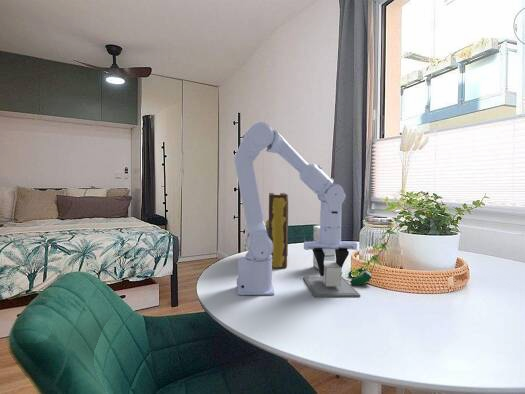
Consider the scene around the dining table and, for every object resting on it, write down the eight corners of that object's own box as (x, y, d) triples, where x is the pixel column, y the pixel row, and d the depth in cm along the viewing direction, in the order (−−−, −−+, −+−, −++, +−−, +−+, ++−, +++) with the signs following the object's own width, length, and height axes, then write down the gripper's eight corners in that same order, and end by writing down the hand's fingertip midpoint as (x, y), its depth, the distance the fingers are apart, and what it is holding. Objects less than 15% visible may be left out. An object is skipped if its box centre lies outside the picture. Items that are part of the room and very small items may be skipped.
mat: (314, 297, 77) (314, 294, 77) (303, 278, 92) (303, 276, 92) (360, 296, 77) (360, 294, 77) (342, 278, 92) (342, 276, 92)
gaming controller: (358, 293, 85) (375, 279, 84) (349, 282, 86) (365, 269, 85) (355, 282, 94) (370, 270, 93) (346, 273, 95) (361, 261, 94)
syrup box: (335, 270, 100) (336, 227, 100) (319, 271, 99) (320, 227, 98) (327, 265, 106) (328, 224, 105) (312, 266, 105) (313, 225, 104)
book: (290, 269, 102) (291, 195, 100) (265, 268, 102) (266, 194, 101) (286, 253, 124) (287, 192, 123) (265, 253, 124) (266, 192, 123)
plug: (325, 286, 80) (326, 267, 80) (317, 275, 90) (318, 258, 89) (341, 286, 80) (341, 267, 80) (331, 275, 90) (331, 258, 90)
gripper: (307, 228, 79) (306, 279, 80) (361, 228, 80) (360, 279, 81) (302, 225, 86) (301, 271, 87) (352, 225, 87) (351, 271, 88)
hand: (329, 274), depth 84 cm, fingers closed on plug, 4 cm apart
